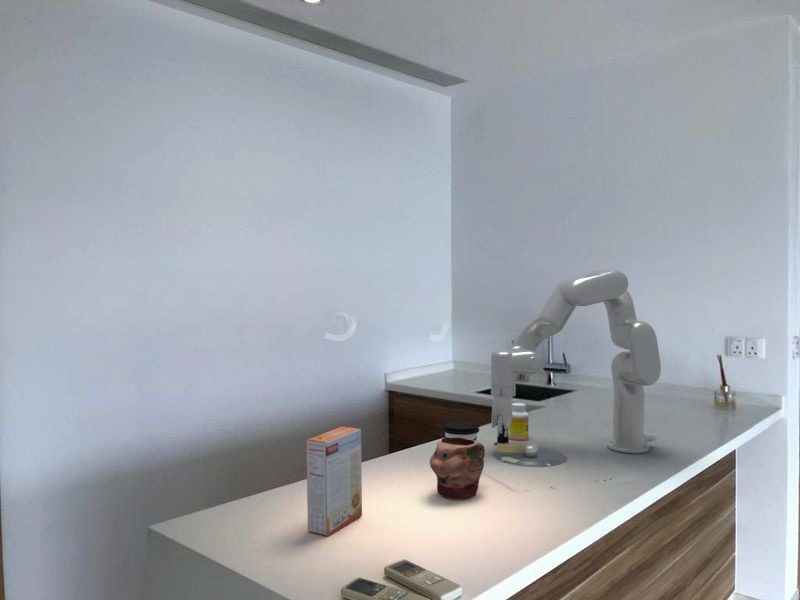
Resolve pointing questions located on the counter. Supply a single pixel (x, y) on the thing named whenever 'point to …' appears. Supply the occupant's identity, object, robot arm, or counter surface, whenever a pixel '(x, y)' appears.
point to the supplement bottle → (518, 423)
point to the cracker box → (334, 480)
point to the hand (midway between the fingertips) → (502, 448)
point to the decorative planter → (458, 467)
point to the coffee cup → (461, 430)
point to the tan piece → (517, 448)
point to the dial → (532, 458)
